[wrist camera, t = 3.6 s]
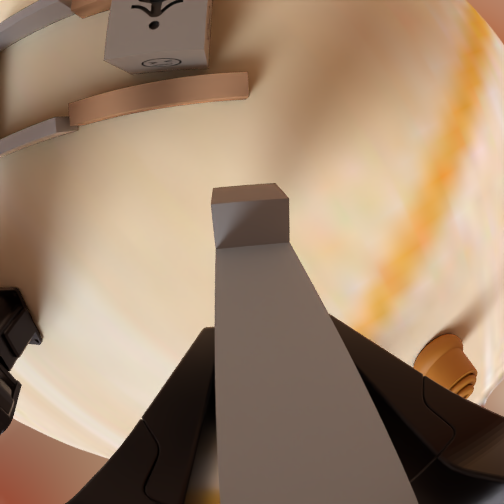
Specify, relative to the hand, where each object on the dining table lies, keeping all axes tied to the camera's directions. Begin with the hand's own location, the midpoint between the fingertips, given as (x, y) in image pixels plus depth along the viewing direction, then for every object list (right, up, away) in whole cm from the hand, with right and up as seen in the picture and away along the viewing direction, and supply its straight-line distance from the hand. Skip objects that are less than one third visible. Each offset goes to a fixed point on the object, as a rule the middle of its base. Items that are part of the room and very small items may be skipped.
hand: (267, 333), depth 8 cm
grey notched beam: (-1, +2, +5) cm, 6 cm away
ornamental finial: (+23, -11, +22) cm, 33 cm away
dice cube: (-6, +16, +7) cm, 18 cm away
